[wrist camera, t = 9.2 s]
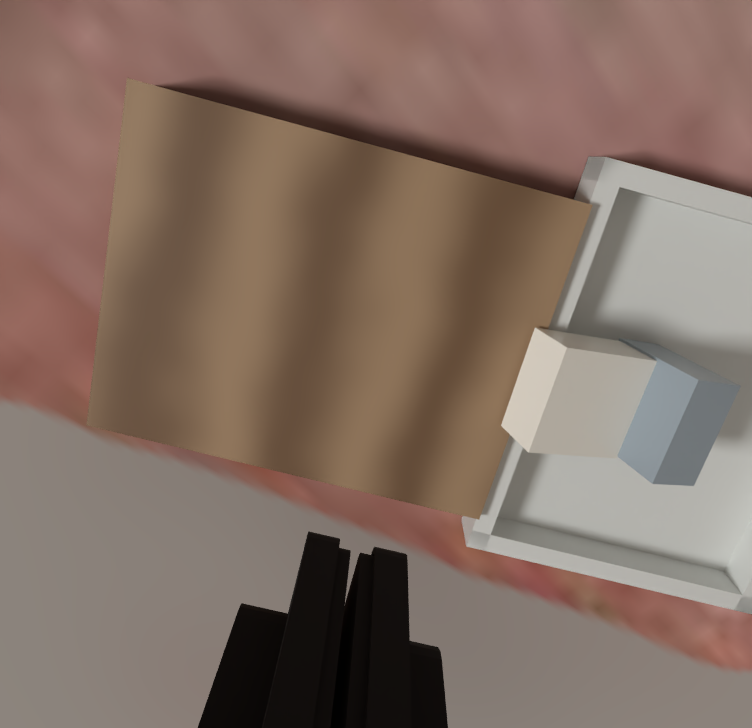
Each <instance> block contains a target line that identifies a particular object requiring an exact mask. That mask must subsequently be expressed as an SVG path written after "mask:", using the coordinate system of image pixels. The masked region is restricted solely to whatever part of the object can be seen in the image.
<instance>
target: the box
mask: <svg viewBox="0 0 752 728" xmlns="http://www.w3.org/2000/svg"><path fill="white" fill-rule="evenodd" d="M574 200H576V201H580V202H584V203H587V204H591V205H593V206H592V208H591V211H590V214H589V217H588V220H587V222H586V225H585V228H584V231H583V233H582V236H581V239H580V242H579V244H578V247H577V250H576V253H575V256H574V258H573V261H572V264H571V267H570V269H569V272H568V275H567V278H566V281H565V283H564V286H563V289H562V292H561V294H560V297H559V300H558V303H557V305H556V308H555V311H554V314H553V317H552V319H551V322H550V325H549V328H548V330H554V331H560V332H566V333H573V334H579V335H585V336H591V337H597V338H604V339H610V340H616V341H619V338H623V339H629V340H635V341H641V342H648V343H654V344H659V345H661V346H663V347H665V348H667V349H669V350H671V351H673V352H675V353H677V354H679V355H681V356H683V357H685V358H687V359H689V360H691V361H693V362H695V363H697V364H699V365H700V366H702V367H704V368H706V369H708V370H710V371H712V372H714V373H716V374H718V375H720V376H722V377H724V378H726V379H728V380H730V381H732V382H734V383H736V384H738V385H740V386H741V387H740V389H739V391H738V393H737V395H736V397H735V400H734V402H733V404H732V406H731V408H730V410H729V412H728V414H727V417H726V419H725V421H724V423H723V425H722V427H721V429H720V431H719V434H718V436H717V438H716V440H715V442H714V444H713V446H712V449H711V451H710V453H709V455H708V457H707V459H706V461H705V463H704V466H703V468H702V470H701V472H700V474H699V476H698V478H697V480H696V483H695V485H694V486H683V485H663V484H652V483H650V482H649V481H648V480H647V479H645V478H644V477H643V476H642V475H640V474H639V473H638V472H637V471H635V470H634V469H633V468H631V467H630V466H629V465H628V464H626V463H625V462H624V461H623V460H621V459H620V458H619V457H618V456H617V458H601V457H586V456H572V455H557V454H542V453H528V452H527V451H526V450H525V449H524V448H523V447H522V446H521V445H520V444H519V443H518V442H517V441H516V440H515V439H514V438H513V437H512V436H511V435H510V436H509V439H508V441H507V444H506V447H505V450H504V452H503V455H502V458H501V461H500V463H499V466H498V469H497V472H496V475H495V477H494V480H493V483H492V486H491V488H490V491H489V494H488V497H487V499H486V502H485V505H484V508H483V511H482V513H481V516H480V519H479V520H478V519H474V518H470V517H466V516H463V517H462V525H463V530H464V536H465V541H466V546H467V547H471V548H476V549H480V550H484V551H488V552H492V553H497V554H501V555H505V556H509V557H513V558H518V559H522V560H526V561H530V562H534V563H539V564H543V565H547V566H551V567H555V568H560V569H564V570H568V571H572V572H576V573H581V574H585V575H589V576H593V577H597V578H602V579H606V580H610V581H614V582H618V583H623V584H627V585H631V586H635V587H639V588H644V589H648V590H652V591H656V592H660V593H665V594H669V595H673V596H677V597H681V598H686V599H690V600H694V601H698V602H703V603H707V604H711V605H715V606H719V607H724V608H728V609H732V610H736V611H740V612H745V613H749V614H752V197H749V196H745V195H742V194H738V193H734V192H731V191H727V190H724V189H720V188H716V187H713V186H709V185H705V184H702V183H698V182H695V181H691V180H687V179H684V178H680V177H677V176H673V175H669V174H666V173H662V172H659V171H655V170H651V169H648V168H644V167H641V166H637V165H633V164H630V163H626V162H623V161H619V160H615V159H612V158H608V157H588V160H587V163H586V166H585V169H584V171H583V174H582V177H581V180H580V183H579V186H578V189H577V191H576V194H575V197H574Z"/></svg>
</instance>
